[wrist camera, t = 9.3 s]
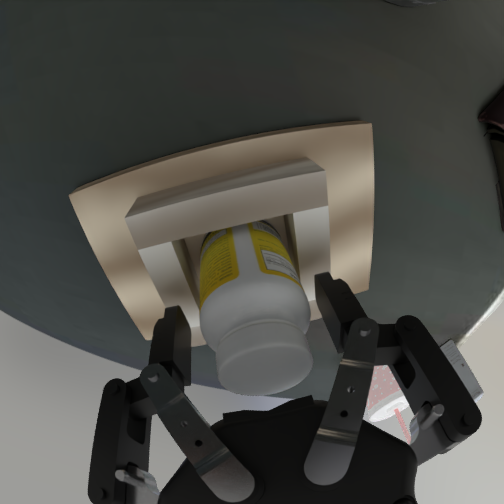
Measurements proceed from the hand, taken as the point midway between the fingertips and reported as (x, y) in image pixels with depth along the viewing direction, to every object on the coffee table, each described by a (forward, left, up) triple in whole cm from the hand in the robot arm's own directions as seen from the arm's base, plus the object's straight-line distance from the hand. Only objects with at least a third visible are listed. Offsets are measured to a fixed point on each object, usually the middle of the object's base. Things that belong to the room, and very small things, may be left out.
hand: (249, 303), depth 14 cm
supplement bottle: (0, 0, -6) cm, 6 cm away
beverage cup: (+19, +12, -7) cm, 24 cm away
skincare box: (+30, +28, -7) cm, 42 cm away
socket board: (0, 0, -7) cm, 7 cm away
